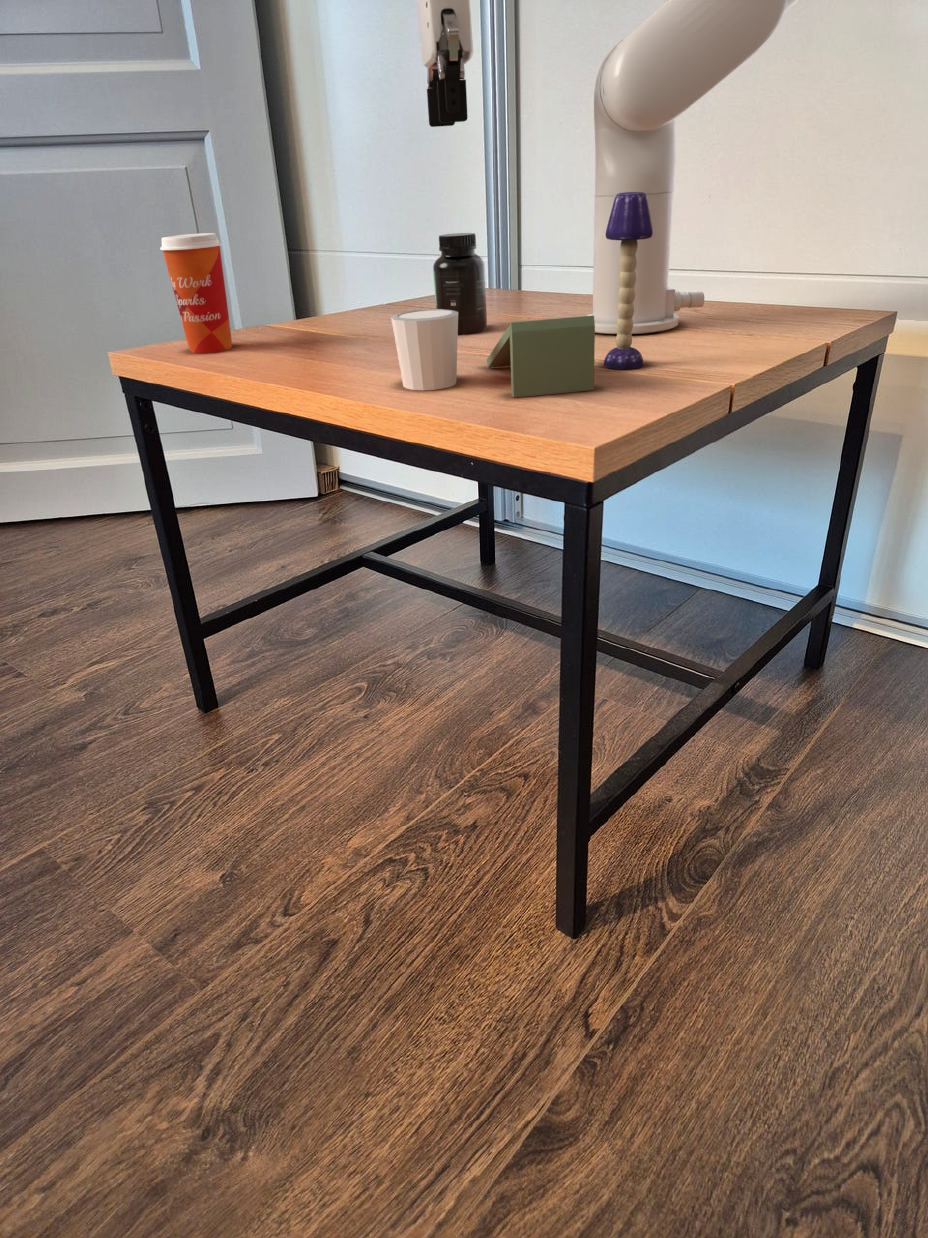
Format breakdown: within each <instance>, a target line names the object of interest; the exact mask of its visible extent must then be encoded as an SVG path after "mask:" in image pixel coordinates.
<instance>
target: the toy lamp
mask: <svg viewBox="0 0 928 1238" xmlns="http://www.w3.org/2000/svg"><path fill="white" fill-rule="evenodd" d="M652 234H653V230H652V223H651V218H650V212H649V206H648V201H647V196H646V194H645V193H644V192H624V193H618V194H617V195H616V197H615V199H614V203H613V207H612V210H611V214H610V218H609V221H608V225H607V229H606V238H607V239H610V240H622V241H621V245H620V250H621V254H622V256H621V259H620V269H621V273H620V276H619V283H620V286H621V287H620V289H619V294H618V298H619V302H620V303H619V305H618V309H617V314H618V317H619V319H618V321H617V332H618V334H616V338H615V346H616V347H614V348H612V349H610V350H609V351H608V352H607V353H606V356H605V357H604V361H603V366H604V367H605V368H607V369H612V370H634V369H639V368H641V367H643V366H644V357H643V355H642V353H641V352H640V351H639V350H638V349H637V348H635V347H632V343H633V334H631V332H632V329H633V319H632V317H633V314H634V304H633V301H634V299H635V288H634V285H635V282H636V273H635V269H636V266H637V258H636V255H635V254H636V252H637V248H638V242H637V240H640V239H648V238H650V237H652Z"/></svg>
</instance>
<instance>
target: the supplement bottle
mask: <svg viewBox="0 0 928 1238" xmlns="http://www.w3.org/2000/svg"><path fill="white" fill-rule="evenodd" d="M476 236H477V235H476V233H474V232H457V233H454V232H453V233H446V234H440V235H438V251H439V252H441V253H440V254H441V255H440V256H439V257H438V258H437V259H436V260H435V261H434V262H433V265H432V269H433V285H434V300H435V301H434V302H435V309H443V310H453V311H456V312H458V335H470V334H475V333H480V332H483V331H485V330H486V329H487V326H488V313H487V311H488V310H487V289H486V288H487V287H486V267H485V261H484V260H483V258H482V257H481V256H479V255H478V254H476V249H477V247H478V246H477V245H478V244H477V237H476Z"/></svg>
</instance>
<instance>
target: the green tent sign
mask: <svg viewBox="0 0 928 1238" xmlns="http://www.w3.org/2000/svg"><path fill="white" fill-rule="evenodd" d="M595 343H596V333H595V322H594V316H593V315H592V316H587V315H582V316H570V317H559V318H558V317H557V318H547V319H534V320H524V321H523V320H522V321H512V322H511V321H510V323H509V324H508V325H507V328H506V329H505V331H504V333H503V334H502V335H501V337H500V339H499V340H498V342H496V345H495V346H494V347H493V349H492V350H491V352H490V354H489V355H488V357H487V358H486V365H487V369H493V368H503V367H504V368H505V367H510V389H511V397H513V398H514V399H516V398H525V397H537V396H547V395H556V394H566V393H567V394H568V393H576V392H577V393H579V392H588V391H589V392H590V391H595V351H596V348H595V347H596V344H595Z"/></svg>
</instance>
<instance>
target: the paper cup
mask: <svg viewBox="0 0 928 1238" xmlns="http://www.w3.org/2000/svg"><path fill="white" fill-rule="evenodd" d="M221 246H223V243H222V242H220V240H219V238H218V236H217V234H216V233H215V232H210V233H209V232H204V233H203V232H202V233H187V234H177V235H176V234H175V235H169V236H166V237H164V236H163V237H161V246H160V248H159V250H160V251H162V253H163V256H164V260H165V263H166V267H167V272H168V275H169V279H170V283H171V286H172V290H173V294H174V298H175V301H176V306H177V309H178V313H179V316H180V320H181V324H182V328H183V331H184V335H185V338H186V342H187V345H188V349H189V351H190V353H192V354H211V353H212V354H213V353H219V352H224V351H228V350H230V349H232V347H233V342H232V332H231V331H232V330H231V324H230V323H231V321H230V315H229V314H230V313H229V307H228V299H227V293H226V283H225V276H224V269H223V259H222V253H221Z"/></svg>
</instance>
